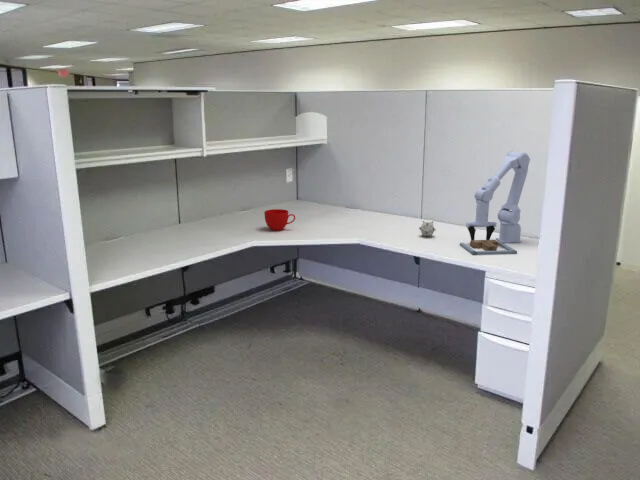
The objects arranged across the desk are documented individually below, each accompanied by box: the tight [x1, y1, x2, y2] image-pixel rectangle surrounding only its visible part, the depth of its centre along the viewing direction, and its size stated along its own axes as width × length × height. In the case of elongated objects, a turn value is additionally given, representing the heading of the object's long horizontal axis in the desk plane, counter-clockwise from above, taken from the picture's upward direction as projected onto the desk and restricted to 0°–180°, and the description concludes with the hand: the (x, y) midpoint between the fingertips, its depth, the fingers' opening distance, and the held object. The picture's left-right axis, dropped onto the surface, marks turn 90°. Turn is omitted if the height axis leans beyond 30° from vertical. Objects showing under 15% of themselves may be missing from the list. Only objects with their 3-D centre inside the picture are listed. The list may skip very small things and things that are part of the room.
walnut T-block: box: [469, 239, 499, 251], centre depth 257 cm, size 12×12×3 cm
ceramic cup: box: [263, 208, 296, 232], centre depth 294 cm, size 13×17×10 cm
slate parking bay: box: [459, 241, 518, 256], centre depth 256 cm, size 21×17×1 cm
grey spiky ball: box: [418, 220, 437, 238], centre depth 280 cm, size 9×8×10 cm
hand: (480, 241), depth 265 cm, fingers open, 7 cm apart
